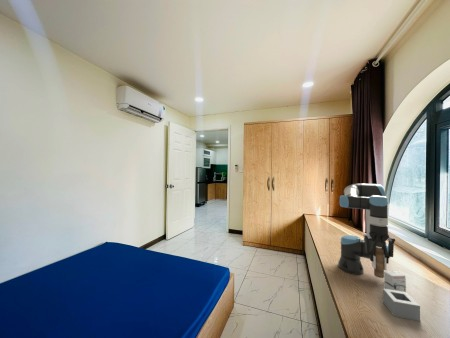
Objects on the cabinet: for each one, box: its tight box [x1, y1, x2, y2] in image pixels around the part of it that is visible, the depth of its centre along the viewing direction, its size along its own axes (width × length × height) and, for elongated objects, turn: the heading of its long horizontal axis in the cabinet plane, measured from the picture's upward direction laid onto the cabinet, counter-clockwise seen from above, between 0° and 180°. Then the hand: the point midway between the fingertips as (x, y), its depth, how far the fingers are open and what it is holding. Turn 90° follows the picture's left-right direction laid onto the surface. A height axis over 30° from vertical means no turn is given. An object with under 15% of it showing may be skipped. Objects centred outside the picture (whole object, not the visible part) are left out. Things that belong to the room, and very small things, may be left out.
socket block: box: [382, 287, 421, 322], centre depth 91 cm, size 10×10×7 cm
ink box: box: [383, 270, 407, 292], centre depth 104 cm, size 9×5×12 cm, turn 92°
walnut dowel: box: [373, 246, 385, 279], centre depth 97 cm, size 4×4×15 cm
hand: (379, 268), depth 97 cm, fingers closed on walnut dowel, 4 cm apart
